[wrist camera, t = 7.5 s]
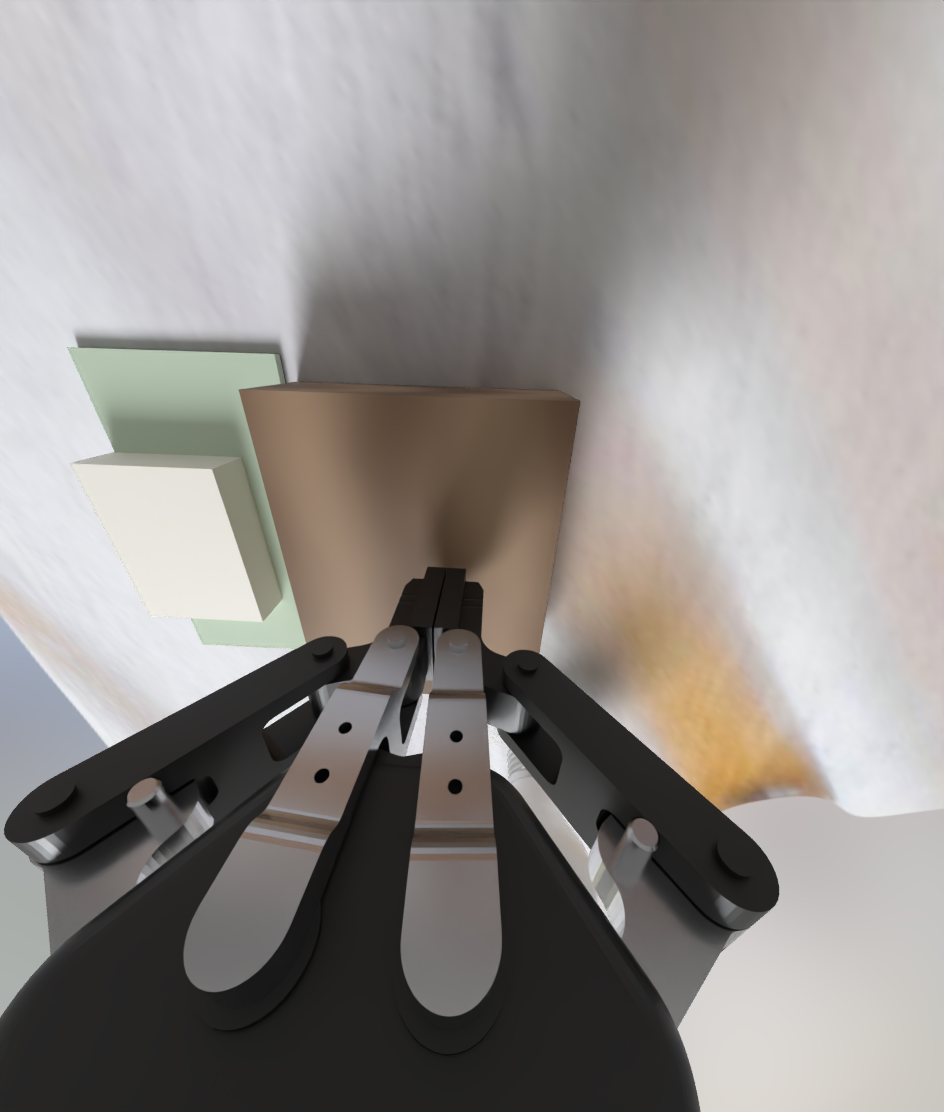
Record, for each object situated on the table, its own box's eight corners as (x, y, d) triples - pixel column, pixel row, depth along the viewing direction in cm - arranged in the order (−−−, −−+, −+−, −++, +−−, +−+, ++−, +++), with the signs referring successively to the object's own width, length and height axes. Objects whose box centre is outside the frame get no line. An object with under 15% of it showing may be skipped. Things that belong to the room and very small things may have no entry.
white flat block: (69, 463, 15) (113, 452, 16) (150, 616, 19) (179, 593, 20) (211, 469, 15) (241, 456, 16) (262, 621, 18) (282, 599, 20)
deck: (558, 390, 15) (580, 401, 11) (524, 644, 22) (531, 699, 18) (296, 381, 15) (238, 389, 12) (345, 635, 22) (318, 687, 18)
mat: (279, 354, 15) (274, 354, 14) (339, 646, 22) (337, 651, 22) (77, 347, 15) (66, 347, 14) (207, 639, 23) (202, 644, 22)
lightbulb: (471, 759, 28) (461, 973, 18) (499, 709, 25) (505, 934, 15) (547, 777, 28) (576, 992, 19) (583, 730, 25) (640, 958, 16)
